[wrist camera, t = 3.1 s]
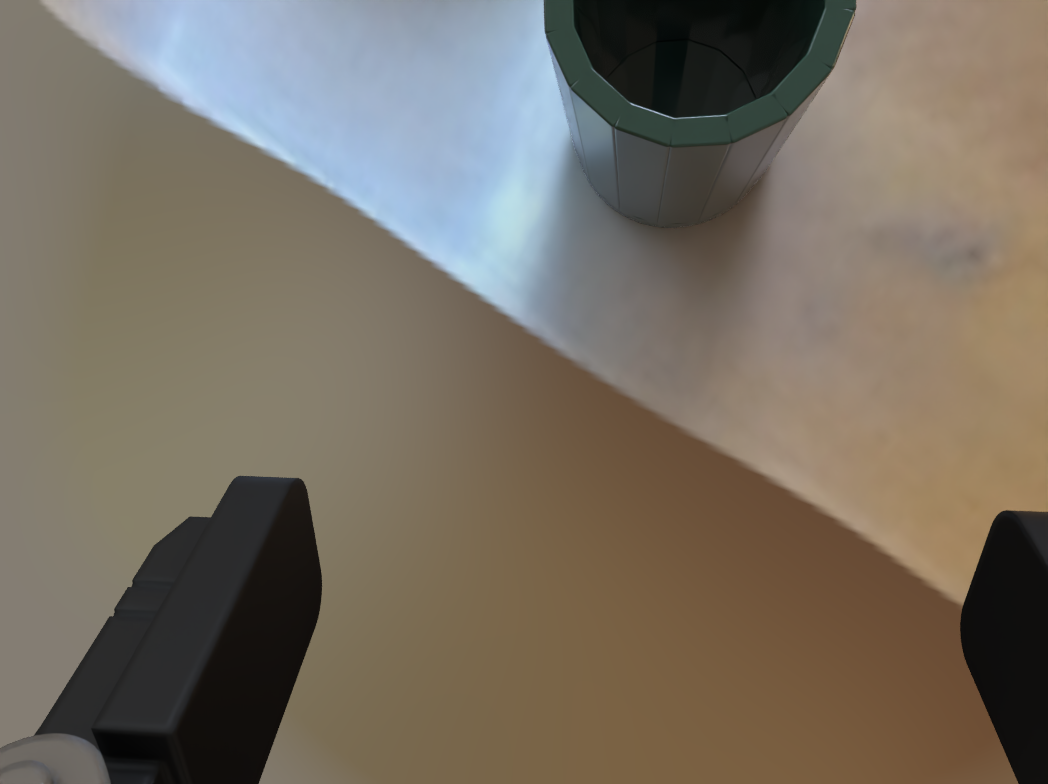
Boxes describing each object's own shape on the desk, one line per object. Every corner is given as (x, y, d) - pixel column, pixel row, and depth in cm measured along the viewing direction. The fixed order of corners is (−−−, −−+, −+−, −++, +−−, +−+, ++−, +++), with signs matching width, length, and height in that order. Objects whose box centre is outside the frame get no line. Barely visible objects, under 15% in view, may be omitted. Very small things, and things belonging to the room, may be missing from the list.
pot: (547, 190, 28) (500, 88, 18) (616, 4, 28) (607, -204, 18) (730, 255, 27) (787, 188, 17) (804, 66, 27) (904, -113, 17)
